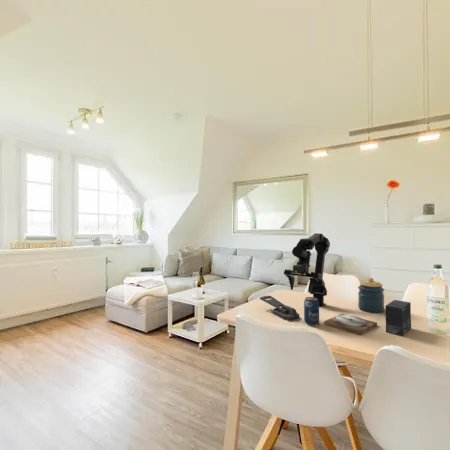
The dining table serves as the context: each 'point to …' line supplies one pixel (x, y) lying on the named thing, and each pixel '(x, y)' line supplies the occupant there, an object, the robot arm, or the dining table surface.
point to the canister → (371, 296)
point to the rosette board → (351, 323)
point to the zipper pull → (281, 309)
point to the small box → (398, 317)
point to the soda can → (311, 311)
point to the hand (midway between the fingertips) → (300, 291)
